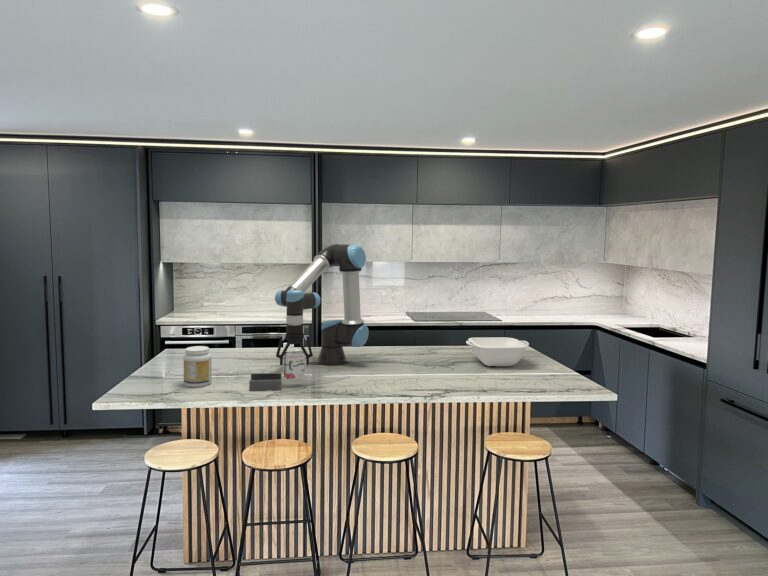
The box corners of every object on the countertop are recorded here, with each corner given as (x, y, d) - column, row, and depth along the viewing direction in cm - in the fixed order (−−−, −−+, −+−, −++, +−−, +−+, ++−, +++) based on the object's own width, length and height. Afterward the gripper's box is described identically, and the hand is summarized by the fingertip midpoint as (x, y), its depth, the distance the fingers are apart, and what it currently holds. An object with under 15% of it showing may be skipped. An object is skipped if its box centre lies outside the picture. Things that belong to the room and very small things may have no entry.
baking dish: (473, 370, 300) (473, 346, 299) (460, 358, 328) (460, 336, 327) (535, 370, 304) (537, 346, 302) (517, 358, 332) (518, 336, 331)
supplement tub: (189, 380, 271) (189, 345, 269) (215, 381, 271) (214, 345, 269) (179, 387, 259) (179, 350, 257) (206, 388, 258) (206, 351, 257)
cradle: (281, 381, 271) (281, 372, 271) (281, 390, 257) (281, 380, 257) (251, 382, 269) (251, 373, 268) (249, 391, 255) (249, 381, 255)
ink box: (287, 379, 261) (287, 354, 259) (283, 377, 265) (283, 351, 264) (305, 377, 265) (305, 352, 263) (301, 375, 269) (301, 350, 268)
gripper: (318, 322, 268) (317, 369, 270) (270, 322, 264) (270, 370, 266) (319, 325, 261) (318, 373, 263) (270, 325, 257) (269, 374, 259)
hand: (294, 371), depth 265 cm, fingers closed on ink box, 9 cm apart
